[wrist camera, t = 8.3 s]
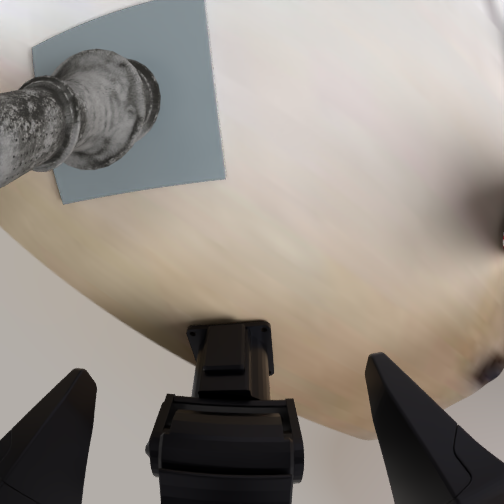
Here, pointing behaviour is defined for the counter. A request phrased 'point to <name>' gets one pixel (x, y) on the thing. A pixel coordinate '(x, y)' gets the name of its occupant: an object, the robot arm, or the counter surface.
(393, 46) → the counter surface
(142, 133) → the grey stone finial
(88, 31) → the coaster
